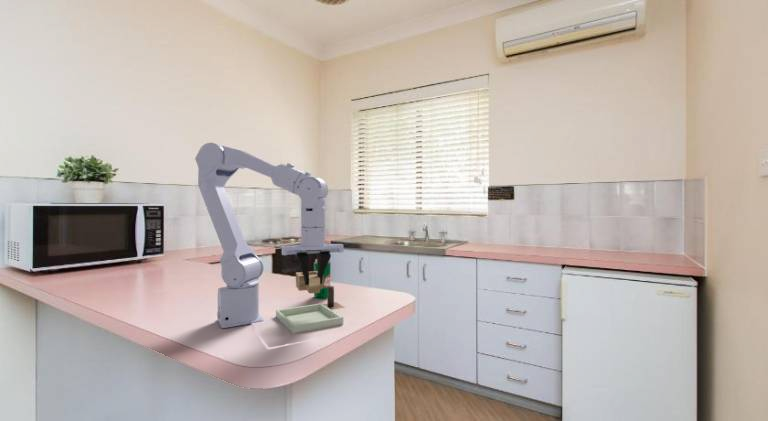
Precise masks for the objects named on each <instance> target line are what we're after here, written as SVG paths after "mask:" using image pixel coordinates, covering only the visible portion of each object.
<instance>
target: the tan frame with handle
mask: <svg viewBox="0 0 768 421" xmlns="http://www.w3.org/2000/svg"><path fill="white" fill-rule="evenodd" d="M295 287H296V288H297V290H298V291H307V293H309V294H314V293H320V289H324V275H323V279H322V284H320V277H318V276H317V271H314V270H313V271H309V285H306V284H305V281H304V276H303V272H302V271H301V272H297V271H296V272H295Z"/></svg>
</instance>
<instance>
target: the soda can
mask: <svg viewBox="0 0 768 421" xmlns="http://www.w3.org/2000/svg"><path fill="white" fill-rule="evenodd" d="M314 260H315V261H314V262H313V271H318V264H317V258H315V259H314ZM331 266H332V265H331V261H330V260H329V262H328V264H327V266H326V268H325V271H324V289H320V293H313V297H314V298H315V299H318V300H319V299H320V300H323V299H324V300H325V299H327V287H328V286H332V284H331V282H332V281H331V279H332V277H331Z"/></svg>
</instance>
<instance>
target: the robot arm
mask: <svg viewBox="0 0 768 421" xmlns="http://www.w3.org/2000/svg"><path fill="white" fill-rule="evenodd" d="M194 160H195V162H196V165H197V168H198V169H197V170H198V172H197V173H198V174H197V176H198V179H197V180H198V182H197V185H198V189H199V190H200V194H201V197H202V199H203V201H204V205H205V206H206V210H207V212H208V214H209V217H210V219H211V223H212V224H213V228H214V230H215V233H216V235H217V238H218V240H219V242H220V243H219V244H220V246H221V248H222V251H223V252H222V254H221V257H220V258H219V263H220V266H221V273H220V274H221V279H222V280H223V283H225V286H222V287H219V288H218V289H217V313H216V314H217V315H216V316H217V322H218V324H219V325H220V328H221V329H226V328H233V327H238V326H239V327H240V326H245V325H251V324H254V323H260V322H264V319H263V318H262V316H261V315H260V311H259V310H260V308H259V307H260V306H259V305H260V300H259V299H260V298H259V296H260V292H259V290H260V286H259V285H260V284H259V283H260V277H261V276H262V275H263V272H264V267H265V266H264V263H263V260H262V259H261V258H260V257H259V256H257V254H256V252H255V250H254V248H252V247H251V246H250V245H248V243H246V239H245V238H244V235H243V233H242V232H243V231H242V230H241V227H240V225H239V222H238V220H237V218H236V215H235V212H234V209H233V206H232V204H231V201H230V199H229V196H228V194H227V191H226V189H225V186H226V184H227V182H228V181H229V180H230V179H231V177H232V176H234V174H236V173H237V172H238V170H240V169H246V168H247V169H249V170H251V171H253V172H256V173H258V174H261V175H263V176H266V177H268V178H270V179H271V181H272V184H273V185H274V186H276V187H278V188H280V189H282V190H285V191H287V192H289V193H292V194H293V195H297V196H298V197H299V198H300V199H301V200H300V203H301V204H300V205H301V206H300V244H295V245H282V246H281V255H282V256H288V255H295V257H296V259H297V261H298V264H299V265H300V268H301V269H300V270H301V272H303V276H304V281H305V284H306V285H309V272H310V271H309V266H310V257H309V255H308V254H310V255H311V254H316V259H317V264H318V271H317V276H318V277H320V284H322V279H323V275H324V271H325V268H326V266H327V264H328V262H329V261H330V259H331V256H332V254H331V253H340V254H341V253H344V244H342V243H326V198H327V196H328V193H329V186H328V184H327V183H326V181H324V179H322V178H321V177H318V176H317V177H314V176H312V173H311V172H309V171H306V172H304V171H302V170H299V169H297V168H295V165H294V164H292V163H290V162H289V163H288V162H287V163H280V164H277V165H275V164H273V163H271V162H269V161H267V160H265V159H263V158H260V157H259V156H256V155H254V154H253V153H250V152H248V151H245V150H244V151H243V150H241V149H236V148H232V147H228V146H225V145H220V144H217V143H215V142H207V143H204V144H203V145H202V146H200V149H199V150H198V153H197V154H196V156H195V158H194Z"/></svg>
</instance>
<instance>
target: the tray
mask: <svg viewBox="0 0 768 421" xmlns="http://www.w3.org/2000/svg"><path fill="white" fill-rule="evenodd" d="M323 304H324V303H315V304H310V305H309V304H308V305H307V304H306V305H301V306H296V307H288V308H282V309H276V310H275V317H276V319H278V320H279V321H280V322H281V323H282V325H284V326H285V327H286V328H287V329H288V330H289V331H290V332H291V333H292V334H295V335H296V334H299V333H305V332H310V331H315V330H320V329H325V328H329V327H330V328H331V327H335V326H339V325H344V316H342V315H341V314H339V313H337V312H335V311H334V310H331V309H329V308H328V307H326V306H324V305H323Z"/></svg>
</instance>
